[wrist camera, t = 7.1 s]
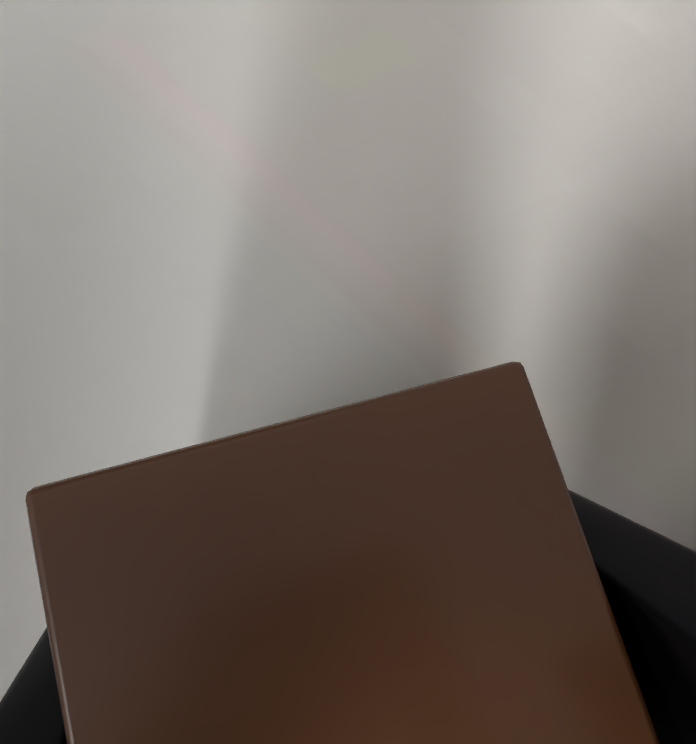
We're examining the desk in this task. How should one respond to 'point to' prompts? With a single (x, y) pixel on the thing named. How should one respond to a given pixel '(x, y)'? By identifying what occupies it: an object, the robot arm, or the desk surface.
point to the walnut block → (338, 584)
